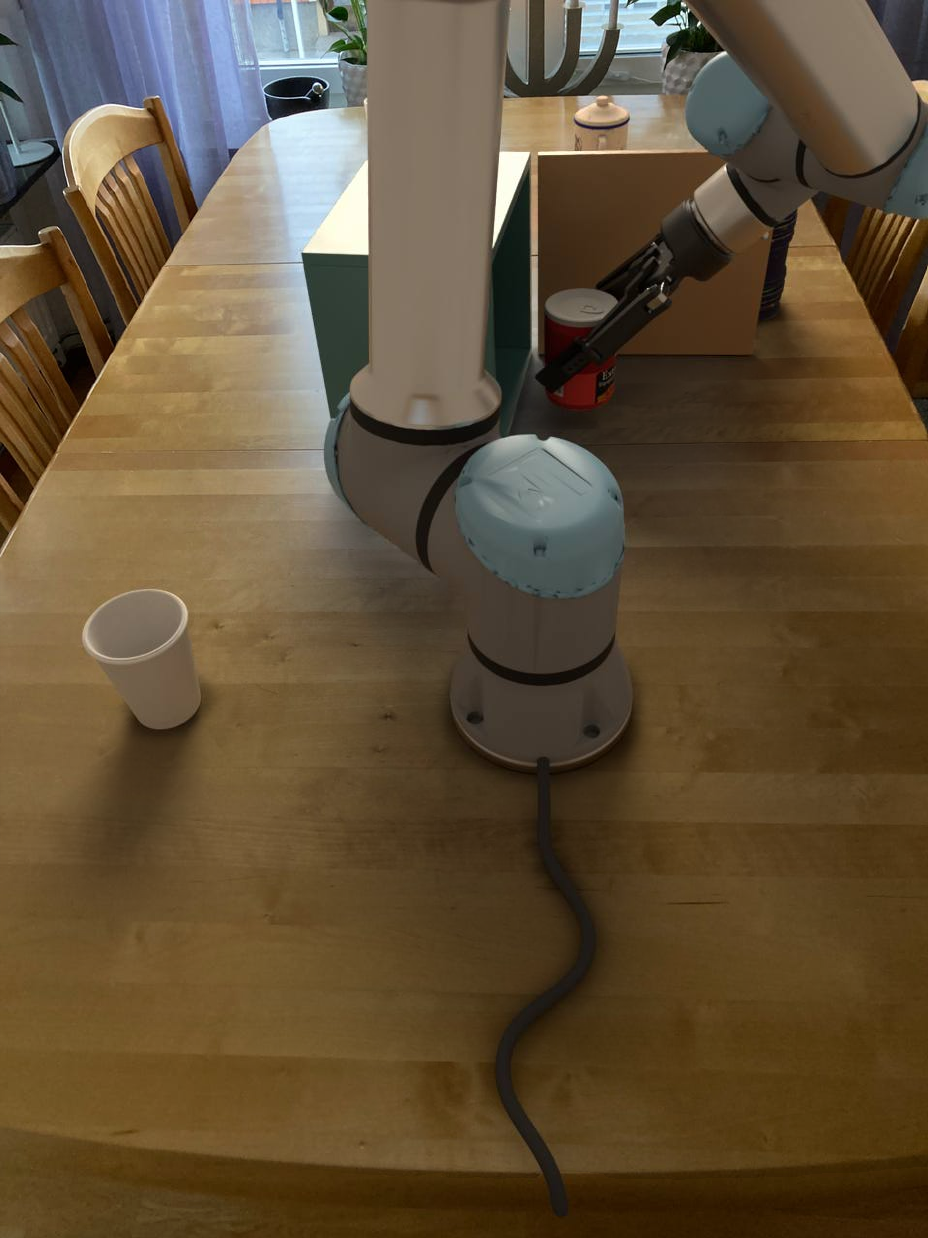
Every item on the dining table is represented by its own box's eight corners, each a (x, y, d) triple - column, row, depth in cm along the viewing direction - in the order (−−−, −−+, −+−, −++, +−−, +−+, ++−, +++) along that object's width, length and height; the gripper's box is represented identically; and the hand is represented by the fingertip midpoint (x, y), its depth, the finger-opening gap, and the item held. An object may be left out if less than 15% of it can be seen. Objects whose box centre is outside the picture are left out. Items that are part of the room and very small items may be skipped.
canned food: (610, 414, 107) (616, 323, 100) (539, 409, 109) (539, 319, 101) (617, 378, 113) (622, 288, 105) (549, 374, 114) (549, 285, 106)
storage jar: (723, 329, 125) (741, 212, 114) (691, 295, 131) (704, 182, 121) (794, 315, 126) (817, 199, 115) (758, 282, 133) (777, 170, 122)
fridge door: (540, 327, 127) (540, 132, 110) (746, 327, 124) (779, 127, 107) (537, 353, 122) (537, 154, 105) (751, 354, 119) (786, 150, 102)
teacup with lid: (572, 162, 168) (573, 89, 159) (625, 160, 167) (629, 86, 159) (573, 189, 159) (575, 113, 151) (629, 188, 158) (634, 111, 150)
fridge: (532, 352, 123) (531, 151, 106) (497, 476, 105) (489, 258, 88) (395, 345, 126) (372, 149, 109) (338, 465, 108) (300, 252, 91)
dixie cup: (114, 685, 86) (76, 604, 79) (207, 657, 88) (178, 576, 81) (125, 754, 81) (85, 674, 74) (224, 723, 82) (195, 642, 75)
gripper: (737, 302, 89) (560, 437, 103) (737, 211, 103) (581, 341, 117) (685, 244, 86) (510, 391, 100) (692, 158, 100) (538, 298, 115)
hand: (549, 364), depth 109 cm, fingers closed on canned food, 8 cm apart
